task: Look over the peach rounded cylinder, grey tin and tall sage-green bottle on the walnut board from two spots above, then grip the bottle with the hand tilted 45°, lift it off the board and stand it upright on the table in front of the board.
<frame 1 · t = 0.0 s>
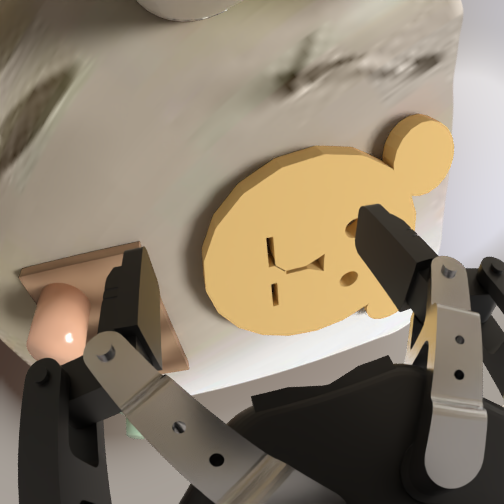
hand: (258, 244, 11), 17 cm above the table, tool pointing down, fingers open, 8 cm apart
peach rounded cylinder: (65, 303, 31), point 1 cm above the table, touching board
board: (112, 323, 37), on the table
decorative plaque: (327, 244, 37), on the table
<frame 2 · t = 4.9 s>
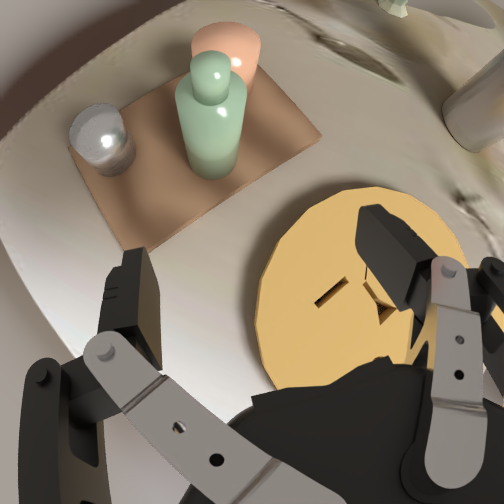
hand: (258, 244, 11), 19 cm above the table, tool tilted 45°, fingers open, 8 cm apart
peach rounded cylinder: (224, 84, 31), point 1 cm above the table, touching board
board: (190, 141, 31), on the table
tin: (113, 154, 29), point 2 cm above the table, touching board
decorative plaque: (383, 326, 32), on the table
bottle: (212, 157, 30), point 2 cm above the table, touching board
sculpture: (391, 7, 39), on the table
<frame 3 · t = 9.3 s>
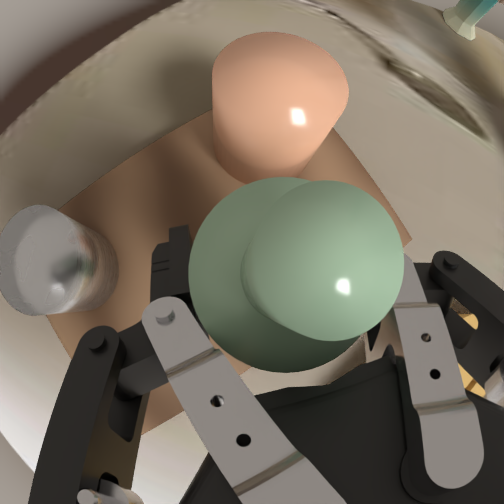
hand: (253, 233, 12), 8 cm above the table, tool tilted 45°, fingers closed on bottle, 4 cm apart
peach rounded cylinder: (263, 142, 20), point 1 cm above the table, touching board
board: (208, 245, 20), on the table
tin: (82, 270, 17), point 2 cm above the table, touching board
decorative plaque: (442, 462, 20), on the table
bottle: (248, 286, 18), point 2 cm above the table, touching board, gripper
sculpture: (457, 26, 28), on the table
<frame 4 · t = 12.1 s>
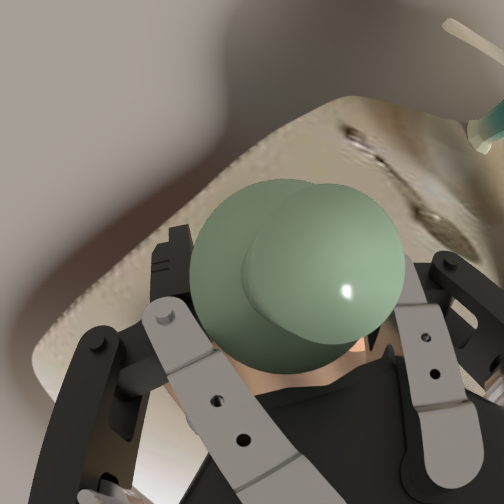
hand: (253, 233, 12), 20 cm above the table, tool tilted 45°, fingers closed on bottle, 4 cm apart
board: (293, 371, 31), on the table
bottle: (249, 286, 18), point 13 cm above the table, touching gripper
sculpture: (477, 138, 39), on the table
when the fingers open (8 cm above the table, at t = 15.1 s): bottle drops 1 cm, on the table.
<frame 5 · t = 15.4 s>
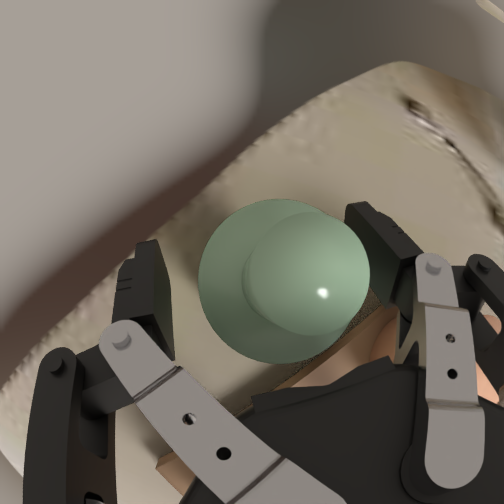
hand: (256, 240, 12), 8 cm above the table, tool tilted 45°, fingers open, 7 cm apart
peach rounded cylinder: (408, 358, 19), point 1 cm above the table, touching board
board: (351, 443, 19), on the table
bottle: (248, 289, 20), on the table
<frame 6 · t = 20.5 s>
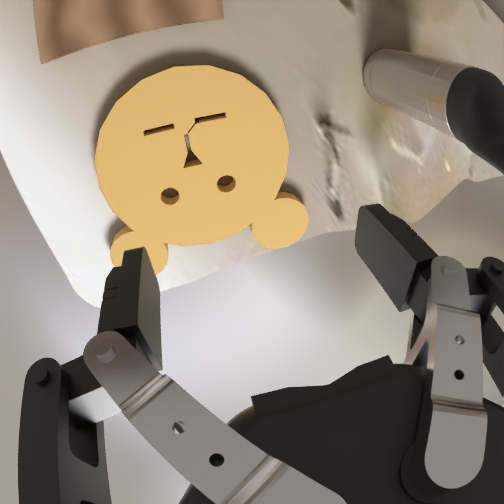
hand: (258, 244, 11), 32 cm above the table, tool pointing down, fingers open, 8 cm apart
decorative plaque: (194, 169, 43), on the table
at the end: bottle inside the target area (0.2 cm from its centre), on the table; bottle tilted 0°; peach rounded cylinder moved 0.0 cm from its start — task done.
